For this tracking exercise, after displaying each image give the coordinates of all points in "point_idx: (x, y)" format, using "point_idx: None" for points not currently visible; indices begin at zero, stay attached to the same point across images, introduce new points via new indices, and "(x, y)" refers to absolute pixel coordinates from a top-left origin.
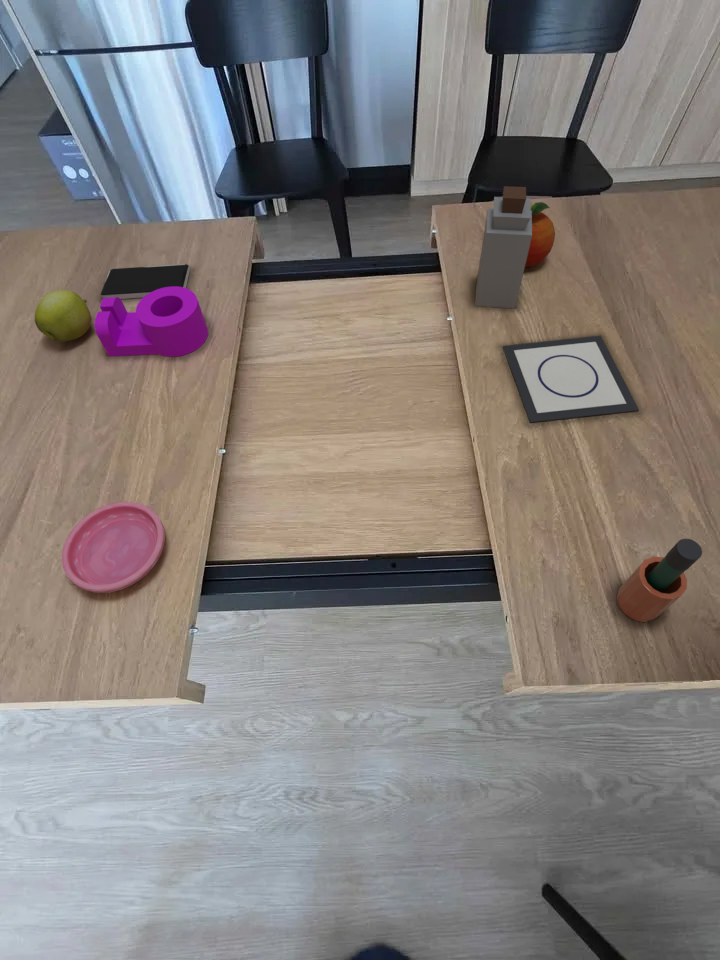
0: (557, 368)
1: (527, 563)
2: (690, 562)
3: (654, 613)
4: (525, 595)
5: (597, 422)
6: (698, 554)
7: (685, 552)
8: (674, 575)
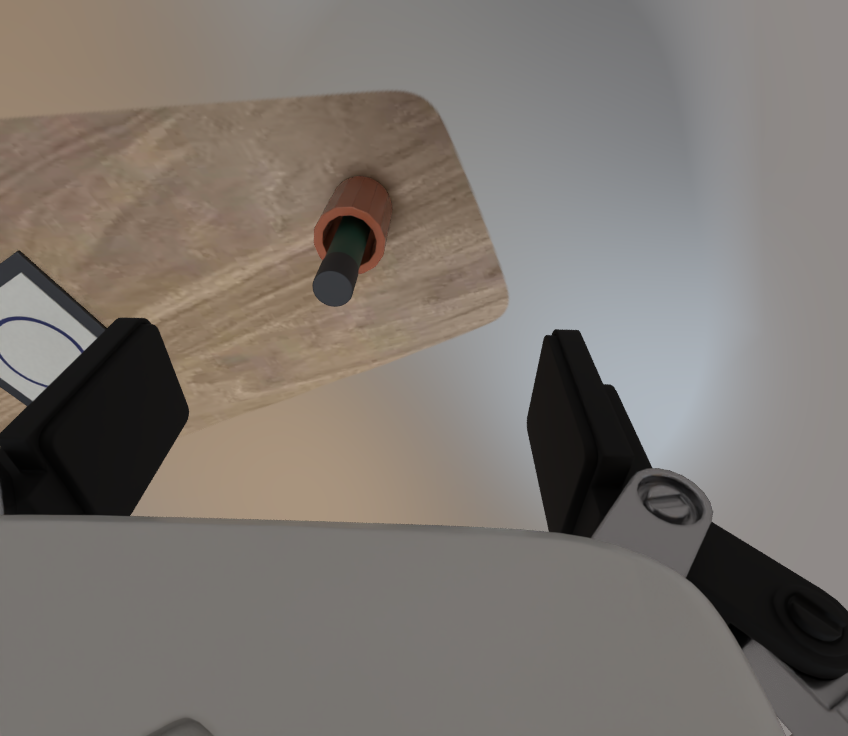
0: (41, 369)
1: (371, 341)
2: (351, 277)
3: (386, 206)
4: (415, 335)
5: (92, 302)
6: (335, 275)
7: (342, 294)
8: (359, 257)
